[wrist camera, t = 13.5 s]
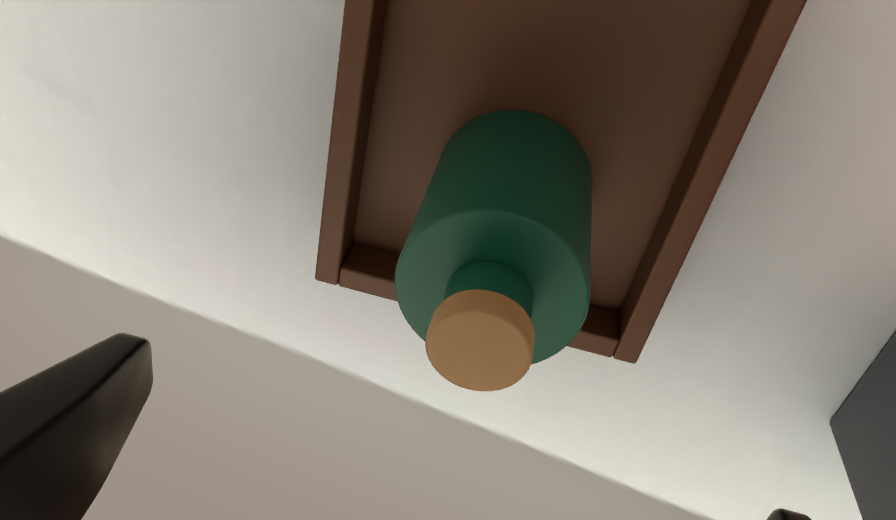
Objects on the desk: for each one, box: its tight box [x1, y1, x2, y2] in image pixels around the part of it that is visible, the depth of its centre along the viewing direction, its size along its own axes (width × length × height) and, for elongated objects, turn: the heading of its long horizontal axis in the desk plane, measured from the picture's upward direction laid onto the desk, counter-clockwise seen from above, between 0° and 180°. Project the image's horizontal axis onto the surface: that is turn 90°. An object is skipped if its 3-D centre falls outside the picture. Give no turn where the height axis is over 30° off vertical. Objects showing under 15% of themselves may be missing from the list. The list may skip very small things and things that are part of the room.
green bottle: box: [395, 110, 592, 391], centre depth 15 cm, size 4×4×6 cm
